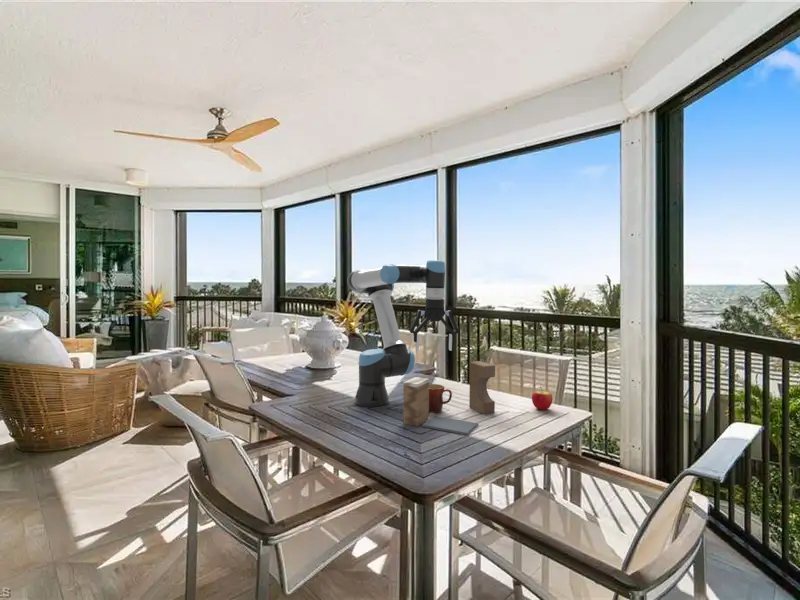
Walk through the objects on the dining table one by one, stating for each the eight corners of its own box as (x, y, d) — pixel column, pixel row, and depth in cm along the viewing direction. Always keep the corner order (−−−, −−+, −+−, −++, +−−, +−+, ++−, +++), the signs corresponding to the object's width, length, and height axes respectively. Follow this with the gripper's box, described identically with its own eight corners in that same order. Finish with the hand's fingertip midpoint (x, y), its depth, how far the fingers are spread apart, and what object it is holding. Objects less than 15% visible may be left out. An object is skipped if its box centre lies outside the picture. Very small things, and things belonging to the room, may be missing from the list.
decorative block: (495, 412, 185) (495, 365, 184) (483, 414, 183) (484, 366, 181) (479, 405, 195) (480, 360, 194) (468, 407, 193) (469, 361, 191)
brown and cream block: (403, 423, 172) (403, 382, 171) (415, 416, 181) (415, 377, 180) (417, 425, 169) (417, 384, 168) (428, 418, 178) (429, 378, 177)
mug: (421, 412, 186) (421, 388, 185) (426, 406, 194) (426, 383, 193) (449, 415, 182) (449, 390, 181) (453, 409, 190) (454, 385, 189)
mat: (422, 426, 168) (422, 424, 168) (435, 417, 178) (435, 415, 178) (467, 435, 159) (467, 432, 159) (478, 425, 170) (478, 423, 170)
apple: (528, 409, 190) (528, 386, 189) (537, 405, 196) (537, 382, 196) (546, 413, 184) (547, 389, 184) (555, 408, 191) (555, 385, 190)
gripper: (405, 298, 176) (404, 351, 177) (467, 299, 177) (465, 352, 179) (403, 297, 183) (402, 348, 185) (463, 298, 185) (461, 348, 186)
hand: (433, 350), depth 182 cm, fingers open, 13 cm apart
